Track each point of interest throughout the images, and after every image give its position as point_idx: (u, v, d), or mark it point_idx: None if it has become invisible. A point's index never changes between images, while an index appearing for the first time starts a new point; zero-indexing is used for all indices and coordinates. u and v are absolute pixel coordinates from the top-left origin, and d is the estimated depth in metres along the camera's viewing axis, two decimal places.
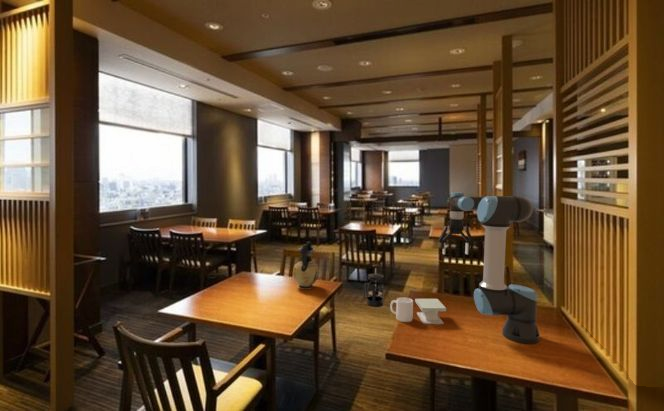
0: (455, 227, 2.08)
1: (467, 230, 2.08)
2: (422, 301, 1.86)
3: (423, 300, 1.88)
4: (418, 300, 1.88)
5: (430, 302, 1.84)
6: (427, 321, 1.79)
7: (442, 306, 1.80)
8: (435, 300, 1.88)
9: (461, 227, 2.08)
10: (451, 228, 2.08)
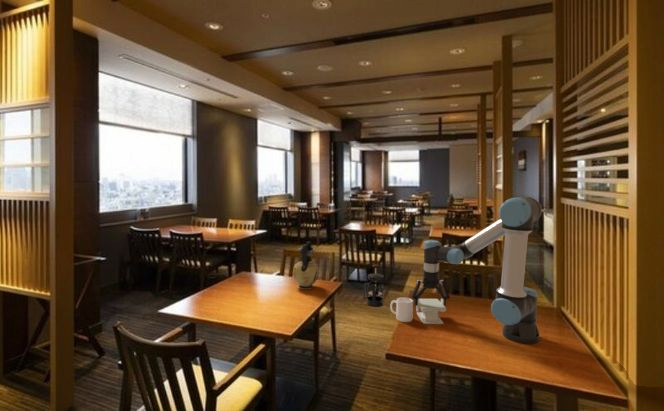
0: (429, 280, 1.81)
1: (443, 284, 1.82)
2: (422, 301, 1.86)
3: (423, 300, 1.88)
4: None
5: (430, 302, 1.84)
6: (427, 321, 1.79)
7: (442, 306, 1.79)
8: (435, 300, 1.88)
9: (436, 281, 1.82)
10: (425, 282, 1.82)
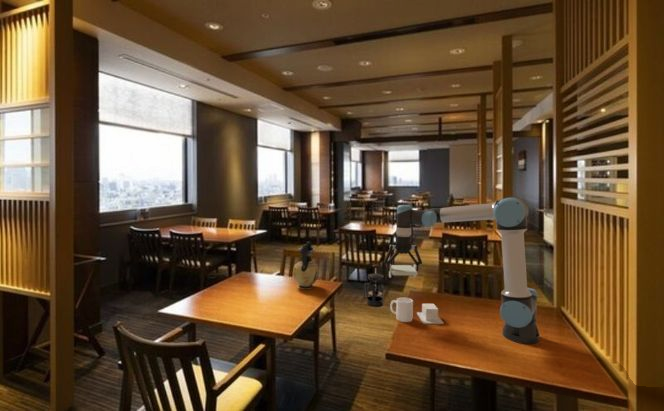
0: (402, 245, 1.80)
1: (415, 249, 1.80)
2: (395, 267, 1.84)
3: (396, 266, 1.86)
4: None
5: (403, 268, 1.83)
6: (427, 321, 1.79)
7: (414, 270, 1.78)
8: (408, 266, 1.86)
9: (409, 246, 1.80)
10: (397, 247, 1.80)
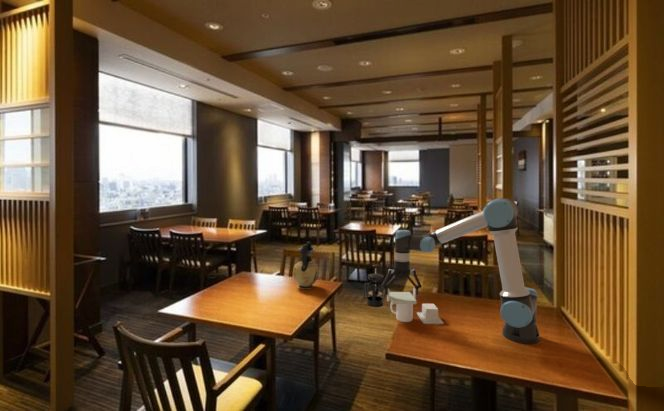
0: (400, 270, 1.81)
1: (414, 274, 1.81)
2: (394, 294, 1.85)
3: (395, 293, 1.87)
4: (390, 293, 1.87)
5: (402, 295, 1.84)
6: (427, 321, 1.79)
7: (413, 299, 1.79)
8: (407, 293, 1.87)
9: (407, 270, 1.81)
10: (396, 271, 1.81)
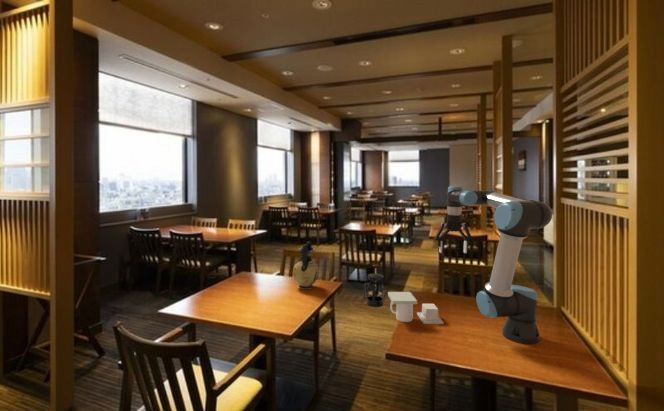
0: (453, 224, 1.94)
1: (465, 227, 1.94)
2: (394, 294, 1.85)
3: (395, 293, 1.87)
4: (390, 293, 1.87)
5: (402, 295, 1.84)
6: (427, 321, 1.79)
7: (413, 299, 1.79)
8: (407, 293, 1.87)
9: (459, 224, 1.94)
10: (448, 225, 1.94)
